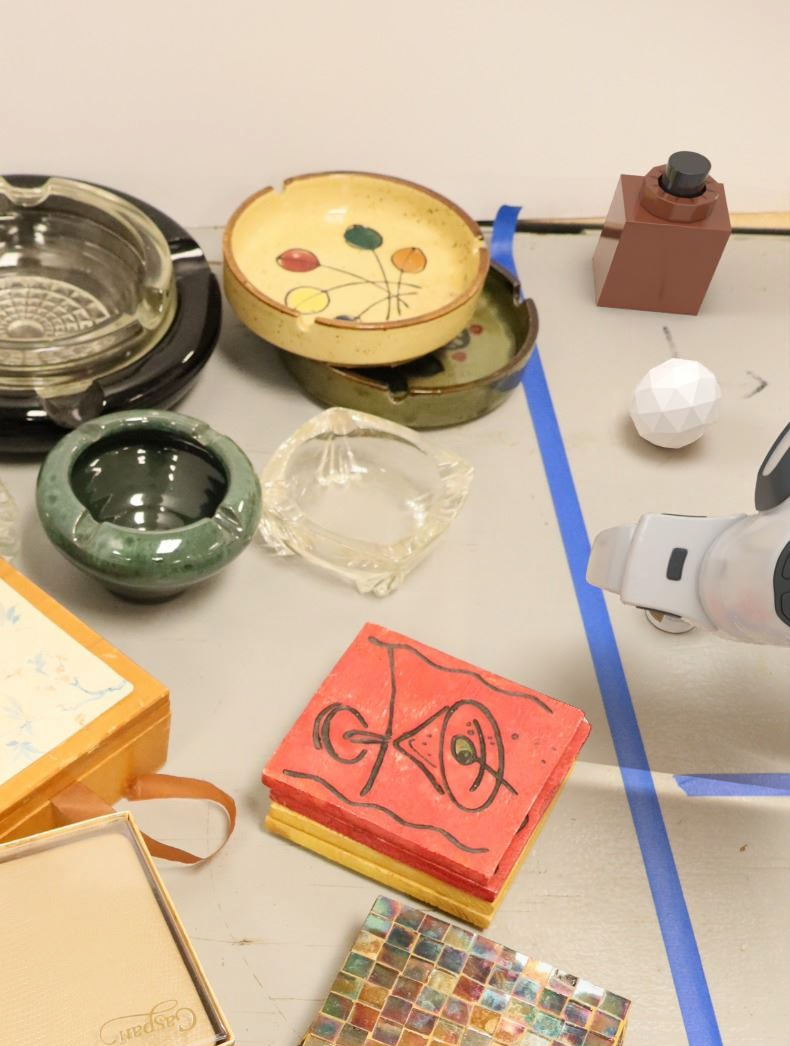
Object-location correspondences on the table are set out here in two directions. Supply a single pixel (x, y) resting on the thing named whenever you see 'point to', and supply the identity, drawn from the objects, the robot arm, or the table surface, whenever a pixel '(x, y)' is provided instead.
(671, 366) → the geometric ball
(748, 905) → the table surface
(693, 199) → the dispenser
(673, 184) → the cylinder
